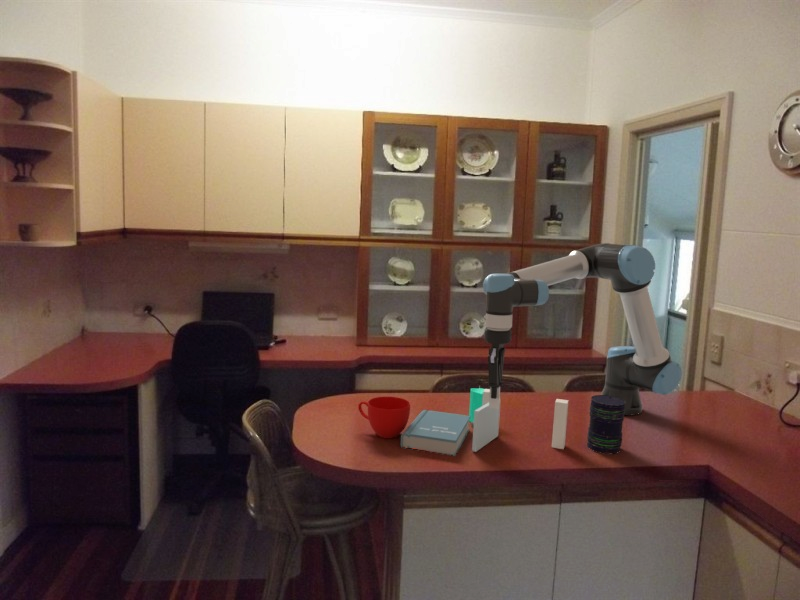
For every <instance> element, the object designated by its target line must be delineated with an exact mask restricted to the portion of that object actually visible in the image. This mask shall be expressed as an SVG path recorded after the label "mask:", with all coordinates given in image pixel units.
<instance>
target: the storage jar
mask: <svg viewBox="0 0 800 600" xmlns="http://www.w3.org/2000/svg"><path fill="white" fill-rule="evenodd" d="M625 416H626V415H625V401H624V400H623V399H621V398H618V397H614V396H608V395H601V394H596V395H592V396H591V397H590V405H589V425H588V426H589V427H588V429H587V434H586V435H587V443H586V447H587V449H589V448H590V449H592V450H594V451H593V452H595V451H597V452H596V453H598V452H601V453H600V454H602V453H617V452H619V451H620V450H622V448H621V446H622V444H623V432H622V431H623V422H624V419H625ZM590 449H589V450H590ZM592 450H591V451H592ZM620 452H621V451H620Z"/></svg>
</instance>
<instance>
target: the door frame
mask: <svg viewBox="0 0 800 600" xmlns="http://www.w3.org/2000/svg"><path fill="white" fill-rule="evenodd" d="M484 389H485V390H484V391H483V401H482V406H483V405H485V404H487V403H489V396H490V388H484ZM569 401H570V400H569V399H568V400H567V399H562V398H561V399H560V398H556V399H555V402H554V414H553V422H552V423H553V426H552V437H551V448H553V449H559V450H564V448H565V447H566V445H565V444H566V438H567V437H566V435H567V434H566V433H567V432H566V431H567V426H568V425H567V423H568V413H569V411H568V410H569Z"/></svg>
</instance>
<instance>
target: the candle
mask: <svg viewBox="0 0 800 600" xmlns="http://www.w3.org/2000/svg"><path fill="white" fill-rule="evenodd" d="M478 387H479V388H470V393H469V394H470V395H469V408H468V409H469V411H468V412H469V413H468V416H470V419H469V423H471V424H472V422H473V421H474V411H475V410H476V409H478V408H480V407H482V401H483V391H484V390H485V389H486V388H482V387H481V386H478Z"/></svg>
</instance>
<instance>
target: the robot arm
mask: <svg viewBox="0 0 800 600" xmlns="http://www.w3.org/2000/svg"><path fill="white" fill-rule="evenodd" d="M654 270H656V261H655V258H654V256H653V254H652V252H651V251H650V250H649V249H647V248H645V247H642V246H639V245H636V244H635V245H634V244H620V243H619V244H617V243H609V242H608V243H599V244H598V243H597V244H594V245H590V246H589V245H588V246H586V247H583V248H580V249H576V250H573V251H571V252H570V253H569V254H568V255H567V256H563V257H560V258H556V259H552V260H549V261H545V262H541V263H539V264H536V265H532V266H527V267H526V268H525V267H524V268H520V269H517V270H515V271H514V270H513V271H511V272H507V273H498V272H497V273H491V274H488V275H487V276H486V277H485V278H484V280H483V284H482V289H483V293H484V294H485V296H486V298H485V315H483V319H485V321H484V322H485V323H484V326H485V327H486V328H485V329H484V342H486V343H489V344H491V345H490V348H488V357H487V363H488V383H487V384H486V385H487V386H486V387H489V389H490V396H489V408H492V409H499V402H500V403H501V401H500V398H501V396H500V395H501V386H504V383H503V373H504V363H505V362H504V361H505V353H506V348H505V347H504V345H507V344H510V343H511V341H512V329H511V328H513V310H514V308H515V307H536V306H542V305H544V304H546V303H547V302H548V300H549V295H550V289H549V286H552V285H556V284H558V283H559V284H560V283H562V282H565V281H569V280H572V279H578V280H583V279H587V278H596V279H597V278H598V279H603V280H608V281H610V282H611V287H612V290H613V291H614V292H615V293H617V294H619V297H620V300H621V303H622V307H623V311H624V315H625V319H626V322H627V326H628V329H629V333H630V337H631V340H632V343H633V346H631V345H630V346H629V345H621V346H620V345H619V346H612V347H610V348H608V350H607V357H606V367H605V381H604V386H603V389H602V390H601V393H600V395H608V396H614V397H618V398H621V399H623V400H624V401H625V415H624V416H632V415H631V414H638V413H641V412H642V413H643V403H642V399H641V395H640V388H641V389H643V390H646V391H649V392H650V393H651V392H652V393H653V394H660V395H663V396H666V395H669V394H672V392H674V391H675V390H676V389H677V387H679V385H680V382H681V380H682V377H683V376H682V373H683V370H682V366H681V365H680V364H679V363H678V362H677V361H672V358H671V354H670V351H669V350H668V349H667V348H666V347H664V345H663V343H662V339H661V335H660V332H659V328H658V327H659V326H658V323H657V319H656V316H655V311H654V307H653V303H652V300H651V297H650V292H649V289H648V287H649V286H650V285H651V282H652V279H653V277H654V276H655V272H654ZM642 413H641V414H642ZM638 415H639V414H638Z"/></svg>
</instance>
